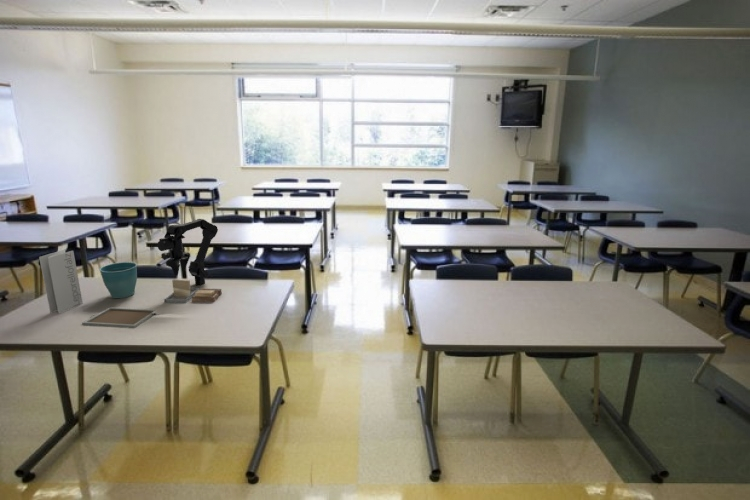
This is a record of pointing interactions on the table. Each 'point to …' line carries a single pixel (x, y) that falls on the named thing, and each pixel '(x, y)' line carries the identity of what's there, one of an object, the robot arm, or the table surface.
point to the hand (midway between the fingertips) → (180, 273)
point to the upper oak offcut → (204, 293)
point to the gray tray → (181, 299)
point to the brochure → (61, 281)
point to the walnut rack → (207, 299)
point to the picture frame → (120, 317)
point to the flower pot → (120, 279)
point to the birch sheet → (181, 287)
